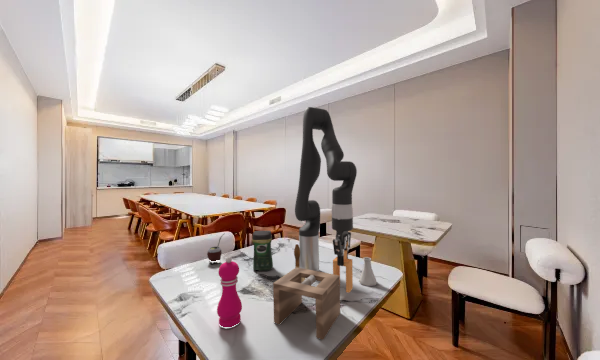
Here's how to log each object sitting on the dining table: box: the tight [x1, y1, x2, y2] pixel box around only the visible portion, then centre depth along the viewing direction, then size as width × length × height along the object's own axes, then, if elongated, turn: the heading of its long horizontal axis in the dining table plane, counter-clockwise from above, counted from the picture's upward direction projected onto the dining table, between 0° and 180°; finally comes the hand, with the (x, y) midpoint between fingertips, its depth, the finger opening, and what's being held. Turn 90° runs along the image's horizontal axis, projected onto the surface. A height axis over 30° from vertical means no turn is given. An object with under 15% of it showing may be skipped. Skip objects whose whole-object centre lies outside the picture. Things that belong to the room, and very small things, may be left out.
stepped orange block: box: [332, 250, 354, 294], centre depth 83 cm, size 6×4×14 cm, turn 61°
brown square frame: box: [272, 267, 341, 341], centre depth 71 cm, size 16×14×12 cm
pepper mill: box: [216, 256, 243, 327], centre depth 69 cm, size 7×7×20 cm
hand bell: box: [293, 243, 306, 282], centre depth 96 cm, size 8×8×16 cm
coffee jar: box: [251, 230, 274, 272], centre depth 112 cm, size 10×8×19 cm
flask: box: [358, 256, 378, 287], centre depth 95 cm, size 7×7×10 cm
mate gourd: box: [206, 232, 225, 261], centre depth 122 cm, size 8×8×15 cm
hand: (342, 263), depth 83 cm, fingers closed on stepped orange block, 4 cm apart
